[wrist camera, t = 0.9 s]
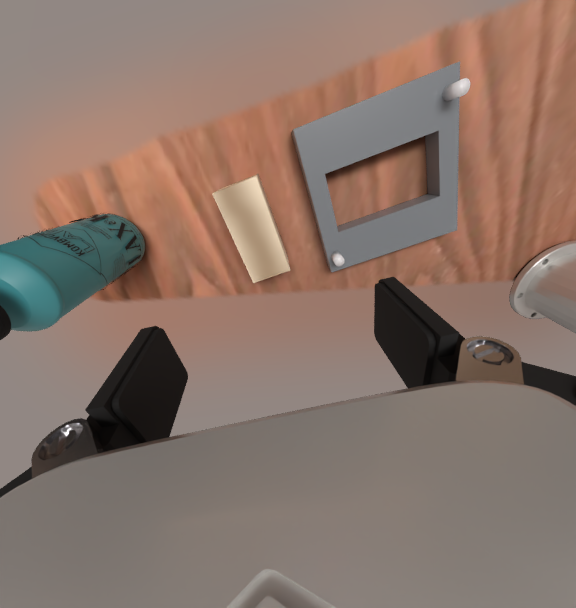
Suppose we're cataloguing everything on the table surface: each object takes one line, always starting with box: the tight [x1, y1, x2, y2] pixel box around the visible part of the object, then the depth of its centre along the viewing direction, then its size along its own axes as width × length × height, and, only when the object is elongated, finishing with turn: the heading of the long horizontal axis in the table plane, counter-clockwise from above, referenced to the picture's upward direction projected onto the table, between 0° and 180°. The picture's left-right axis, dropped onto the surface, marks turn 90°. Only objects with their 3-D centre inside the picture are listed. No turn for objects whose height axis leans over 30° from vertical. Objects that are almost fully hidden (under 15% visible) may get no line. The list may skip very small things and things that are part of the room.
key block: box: [212, 174, 290, 283], centre depth 28 cm, size 4×10×6 cm, turn 19°
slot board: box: [291, 62, 470, 272], centre depth 27 cm, size 16×16×4 cm
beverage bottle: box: [0, 213, 145, 340], centre depth 22 cm, size 6×7×20 cm
